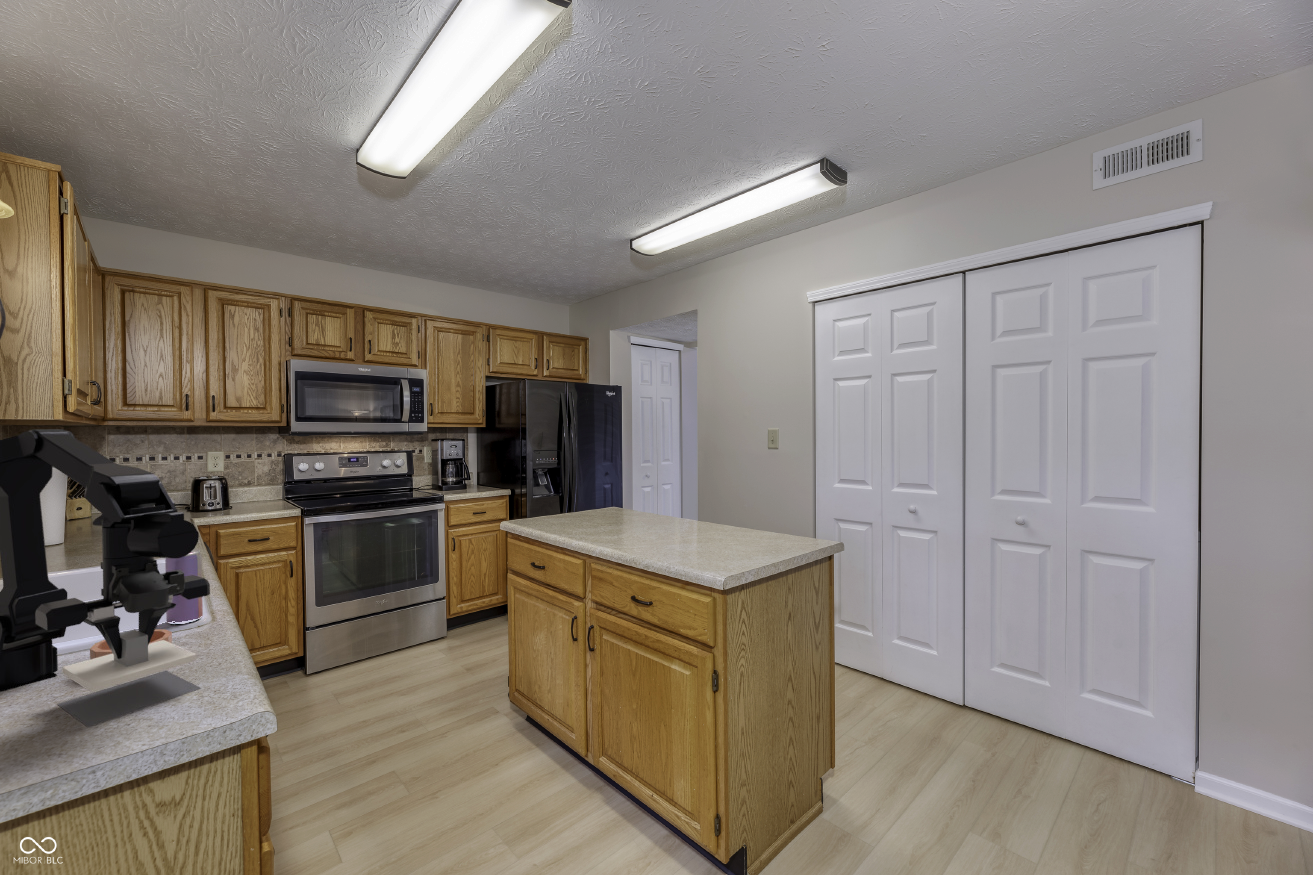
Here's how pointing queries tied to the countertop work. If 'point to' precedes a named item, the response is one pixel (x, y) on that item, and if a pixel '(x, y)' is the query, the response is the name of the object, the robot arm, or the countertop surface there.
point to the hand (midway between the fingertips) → (130, 654)
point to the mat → (127, 698)
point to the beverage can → (183, 607)
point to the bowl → (104, 649)
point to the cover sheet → (121, 674)
